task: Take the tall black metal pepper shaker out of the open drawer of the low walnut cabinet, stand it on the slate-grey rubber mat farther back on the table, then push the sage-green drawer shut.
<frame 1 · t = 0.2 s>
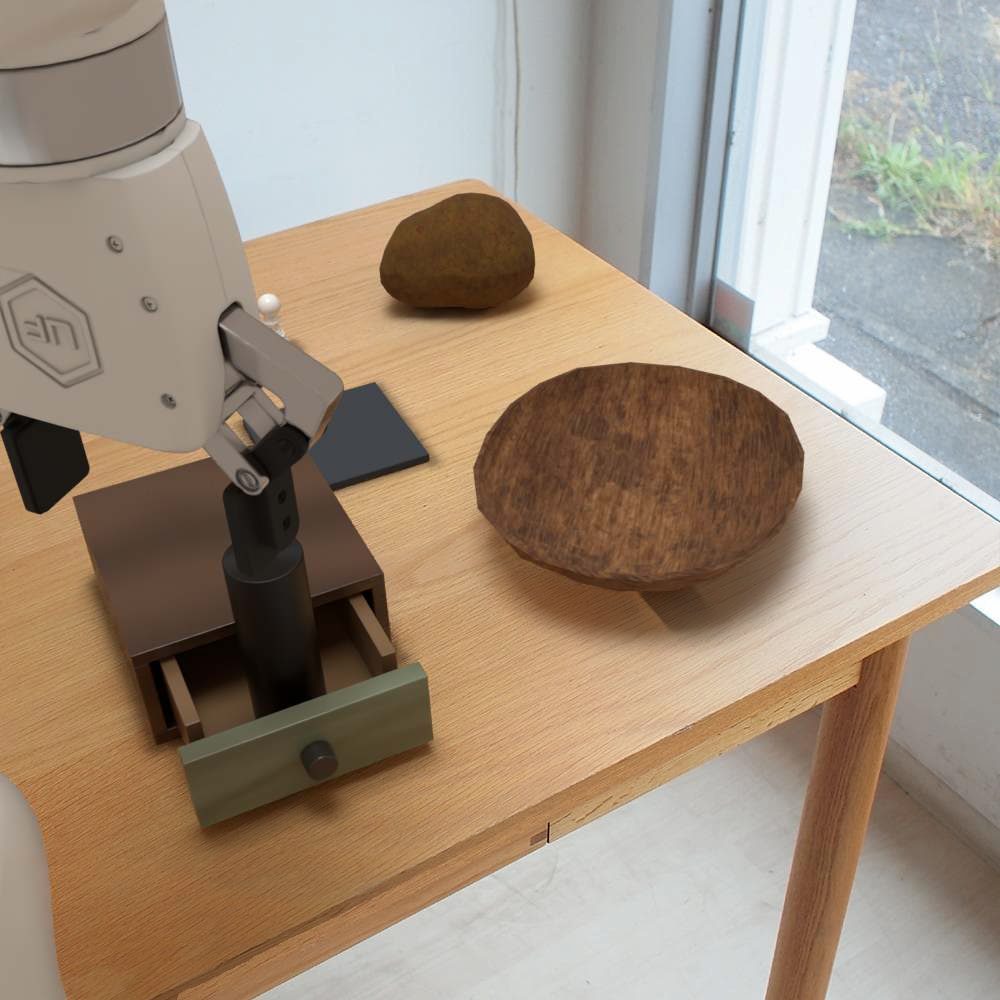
hand: (161, 522, 51), 21 cm above the table, tool pointing down, fingers open, 9 cm apart
mat: (334, 443, 91), on the table
bowl: (636, 523, 83), on the table
drawer: (276, 671, 69), point 3 cm above the table, slide at 6.0 cm, touching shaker
chess pawn: (276, 356, 100), on the table
potato: (462, 299, 106), on the table
mug: (143, 355, 101), on the table
cabinet: (239, 619, 77), on the table
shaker: (292, 715, 69), point 2 cm above the table, touching drawer
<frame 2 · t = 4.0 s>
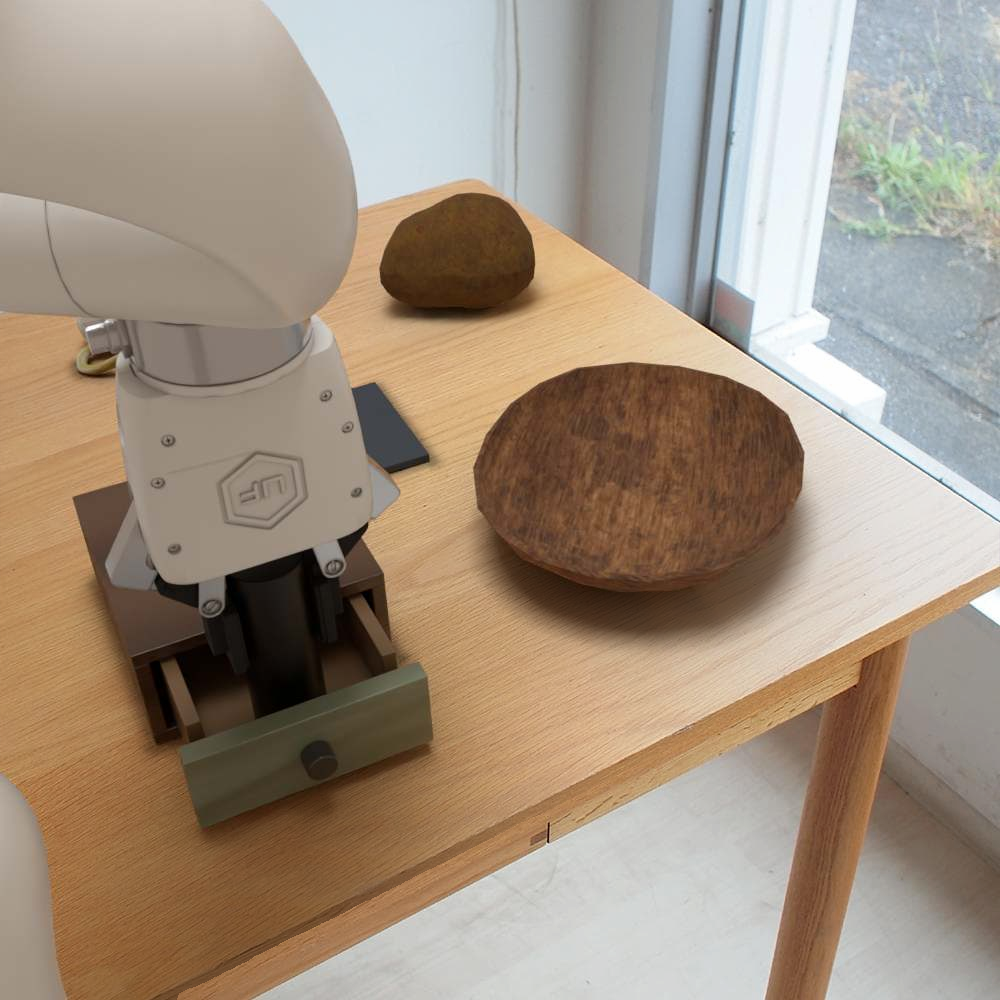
hand: (278, 637, 65), 8 cm above the table, tool pointing down, fingers closed on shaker, 3 cm apart
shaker: (292, 715, 69), point 2 cm above the table, touching drawer, gripper
everything else where it was.
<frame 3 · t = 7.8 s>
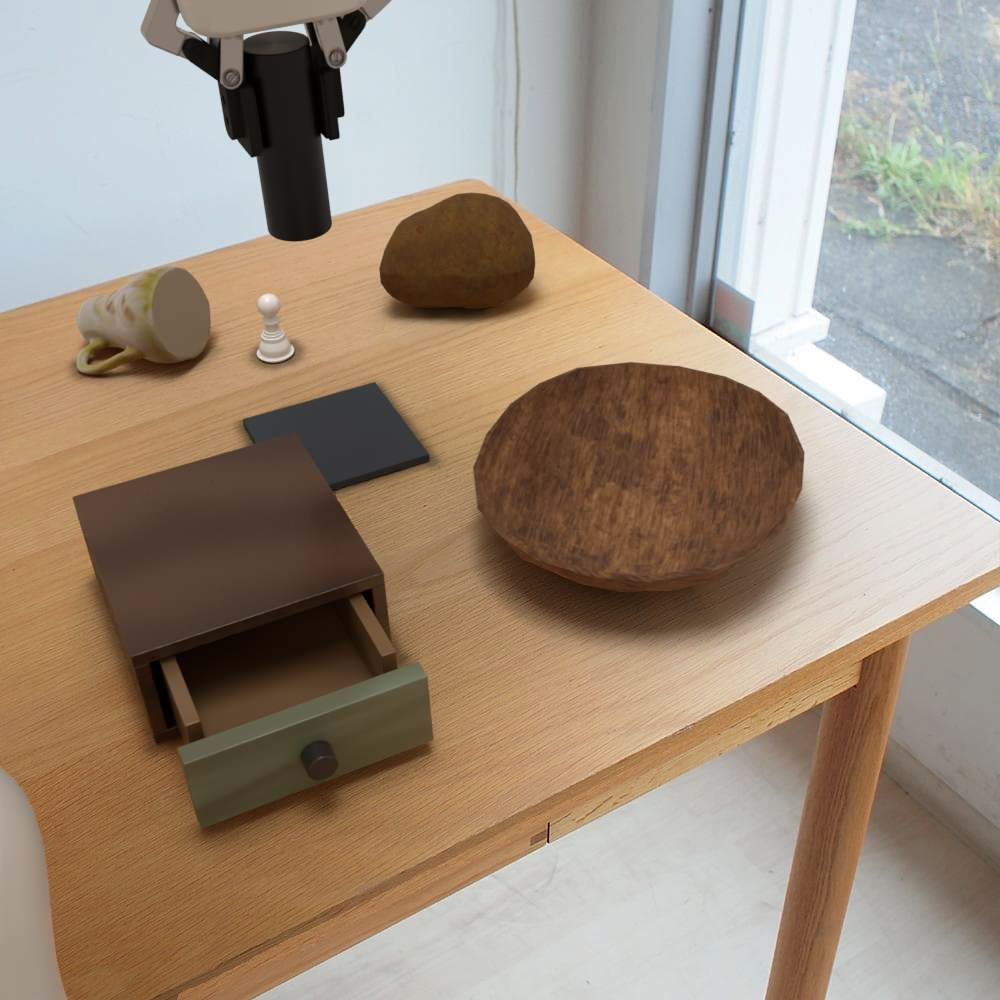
hand: (287, 136, 75), 23 cm above the table, tool pointing down, fingers closed on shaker, 3 cm apart
drawer: (276, 671, 69), point 3 cm above the table, slide at 6.0 cm
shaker: (300, 227, 78), point 17 cm above the table, touching gripper
everything else where it was.
when the fingers open (6 cm above the table, at t = 11.7 s): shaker stays where it is, resting on mat.
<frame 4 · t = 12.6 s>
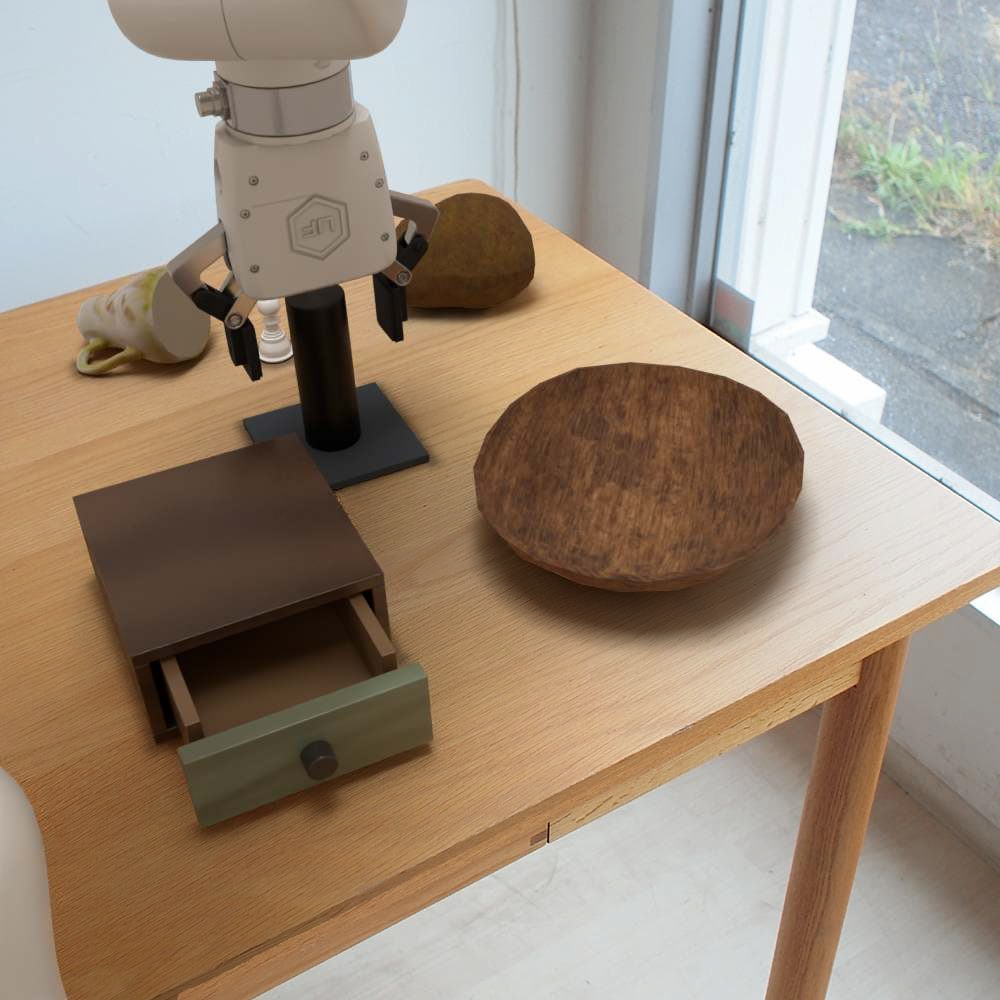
hand: (322, 351, 86), 7 cm above the table, tool pointing down, fingers open, 9 cm apart
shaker: (333, 435, 91), point 1 cm above the table, touching mat
everything else where it was.
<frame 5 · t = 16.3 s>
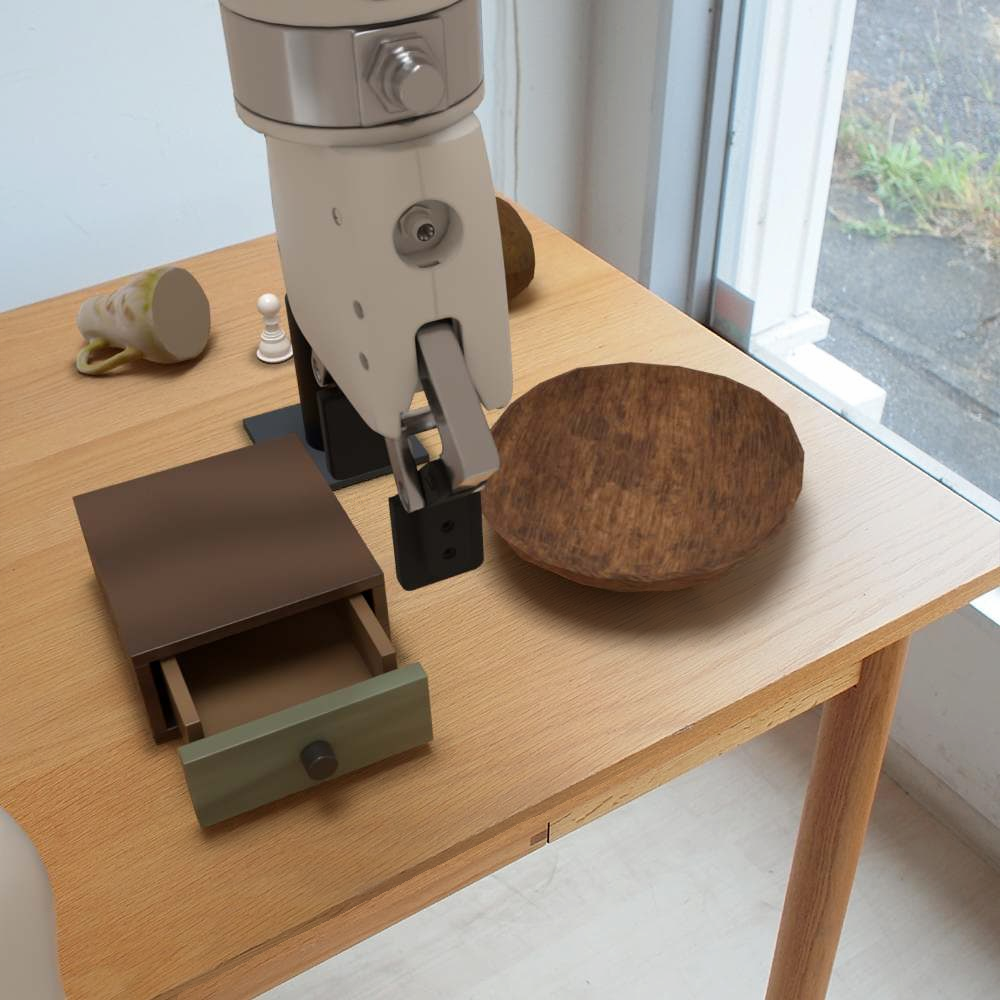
hand: (402, 515, 50), 22 cm above the table, tool pointing down, fingers open, 6 cm apart
nothing on the table moved.
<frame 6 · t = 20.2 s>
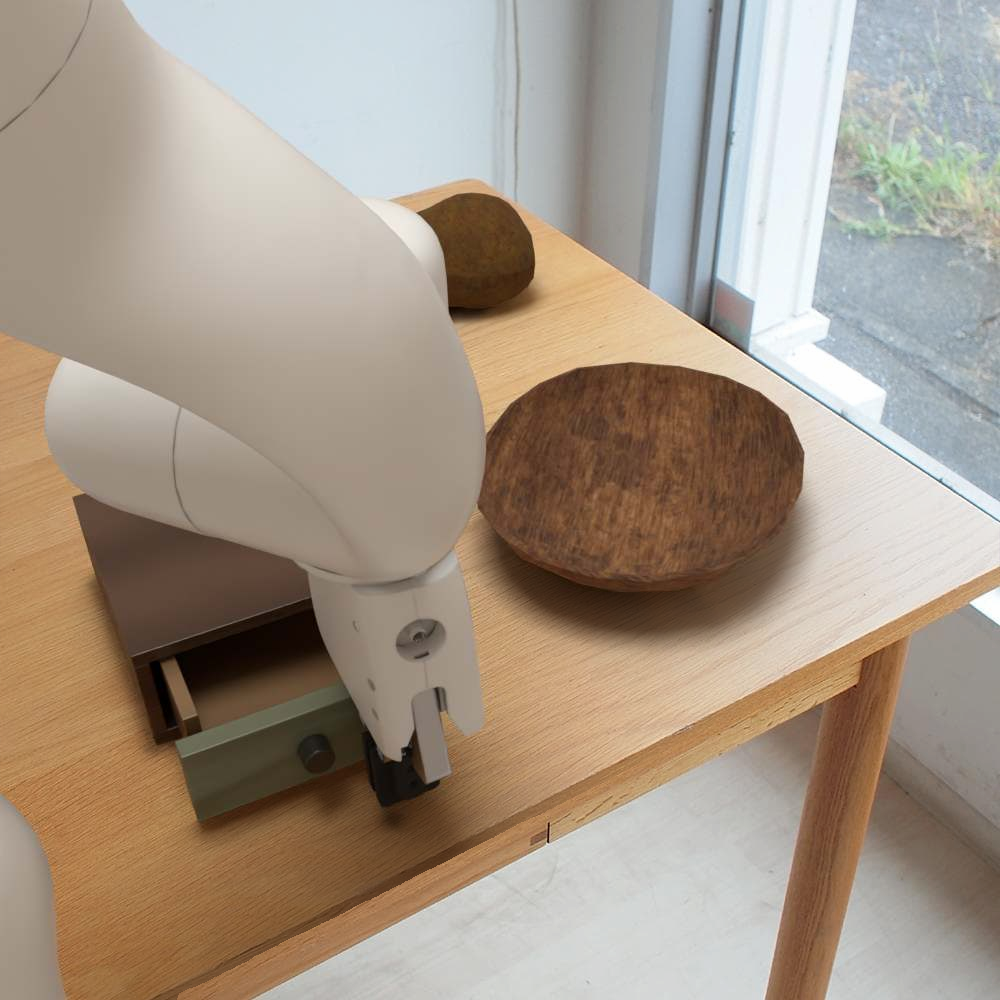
hand: (404, 785, 66), 1 cm above the table, tool pointing down, fingers closed
drawer: (273, 666, 70), point 3 cm above the table, slide at 5.5 cm, touching gripper
everything else where it was.
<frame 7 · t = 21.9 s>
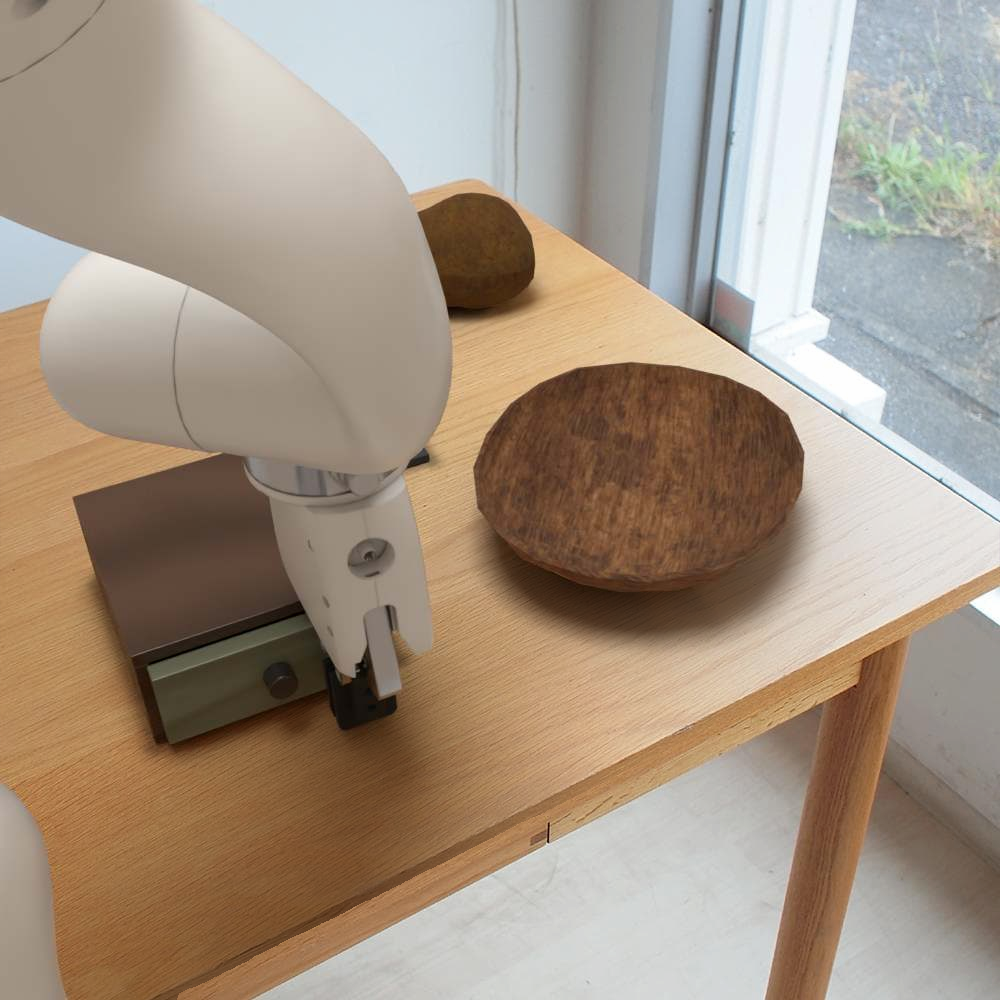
hand: (364, 711, 70), 1 cm above the table, tool pointing down, fingers closed
drawer: (243, 602, 74), point 3 cm above the table, slide at 0.0 cm, touching cabinet, gripper
everything else where it was.
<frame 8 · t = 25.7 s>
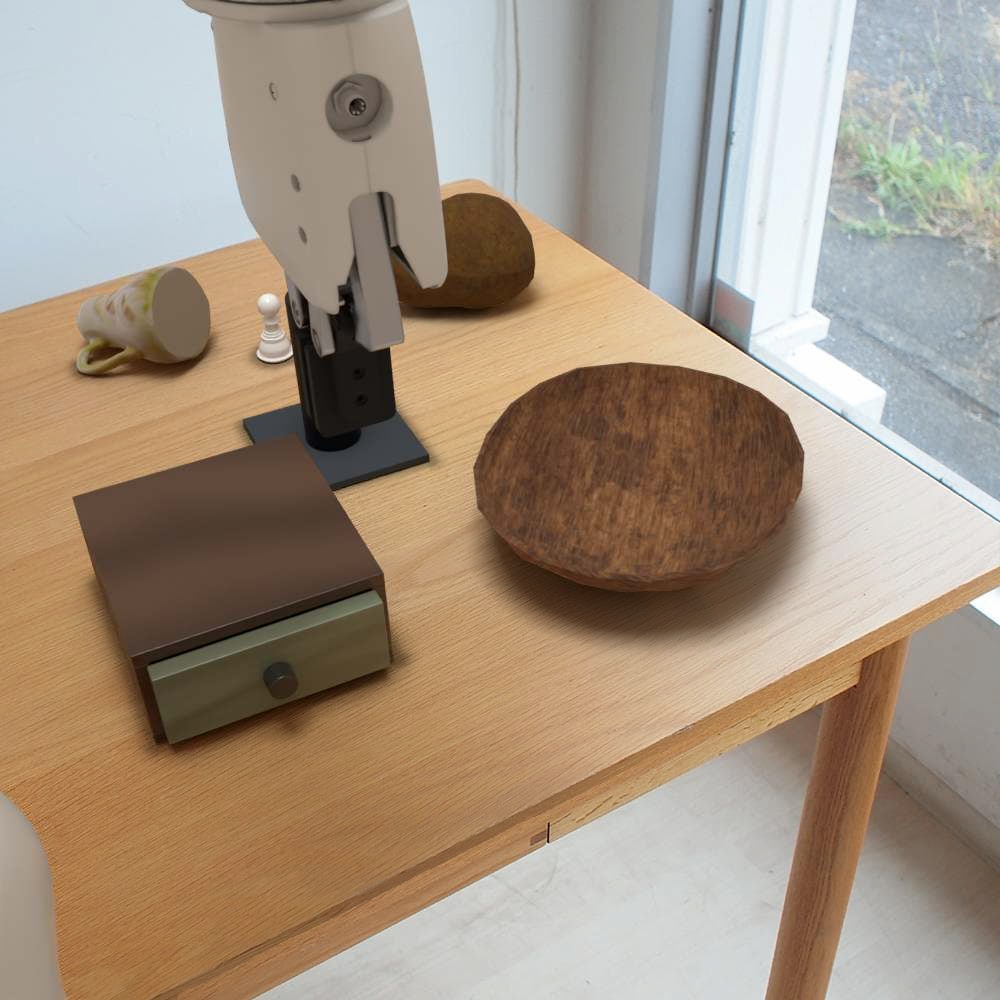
hand: (352, 417, 53), 23 cm above the table, tool pointing down, fingers closed
drawer: (243, 602, 74), point 3 cm above the table, slide at 0.0 cm
everything else where it was.
at the end: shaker inside the target area on the mat (0.0 cm from its centre), point 0.6 cm above the mat's base; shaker tilted 0°; drawer slide at 0.0 cm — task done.
